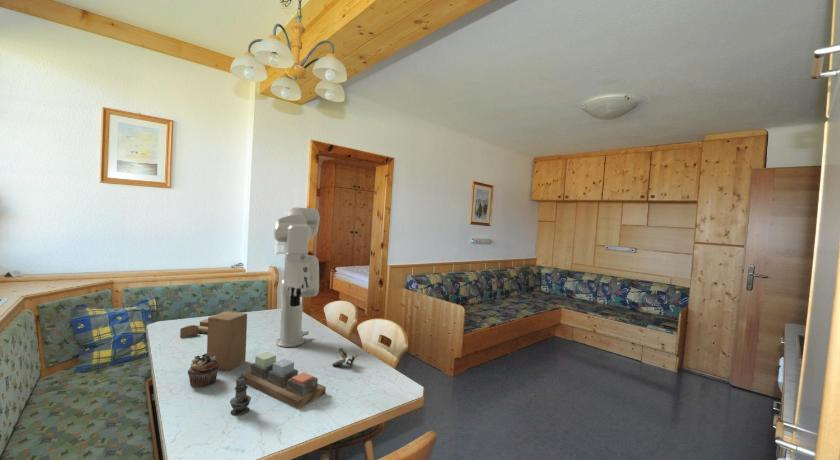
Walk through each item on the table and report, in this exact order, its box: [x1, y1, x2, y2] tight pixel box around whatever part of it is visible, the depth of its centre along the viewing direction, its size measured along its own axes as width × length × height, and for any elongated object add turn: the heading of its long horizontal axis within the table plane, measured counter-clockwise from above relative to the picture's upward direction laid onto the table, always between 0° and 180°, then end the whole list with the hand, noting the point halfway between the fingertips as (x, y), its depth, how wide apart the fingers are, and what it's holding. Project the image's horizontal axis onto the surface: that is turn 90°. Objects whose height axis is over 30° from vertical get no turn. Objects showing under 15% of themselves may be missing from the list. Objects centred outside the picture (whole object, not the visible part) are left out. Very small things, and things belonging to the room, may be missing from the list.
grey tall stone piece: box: [229, 372, 252, 417], centre depth 108 cm, size 6×6×12 cm
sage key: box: [254, 351, 277, 369], centre depth 129 cm, size 5×5×4 cm
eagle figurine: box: [331, 347, 358, 368], centre depth 145 cm, size 8×7×9 cm
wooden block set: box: [179, 318, 208, 338], centre depth 172 cm, size 17×6×18 cm
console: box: [242, 362, 327, 410], centre depth 124 cm, size 12×30×6 cm, turn 59°
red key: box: [292, 371, 315, 385], centre depth 118 cm, size 5×5×4 cm
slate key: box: [273, 358, 295, 376], centre depth 123 cm, size 5×5×4 cm
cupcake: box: [187, 353, 220, 389], centre depth 124 cm, size 10×10×10 cm
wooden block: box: [206, 310, 248, 372], centre depth 139 cm, size 10×10×20 cm
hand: (294, 305), depth 132 cm, fingers closed
